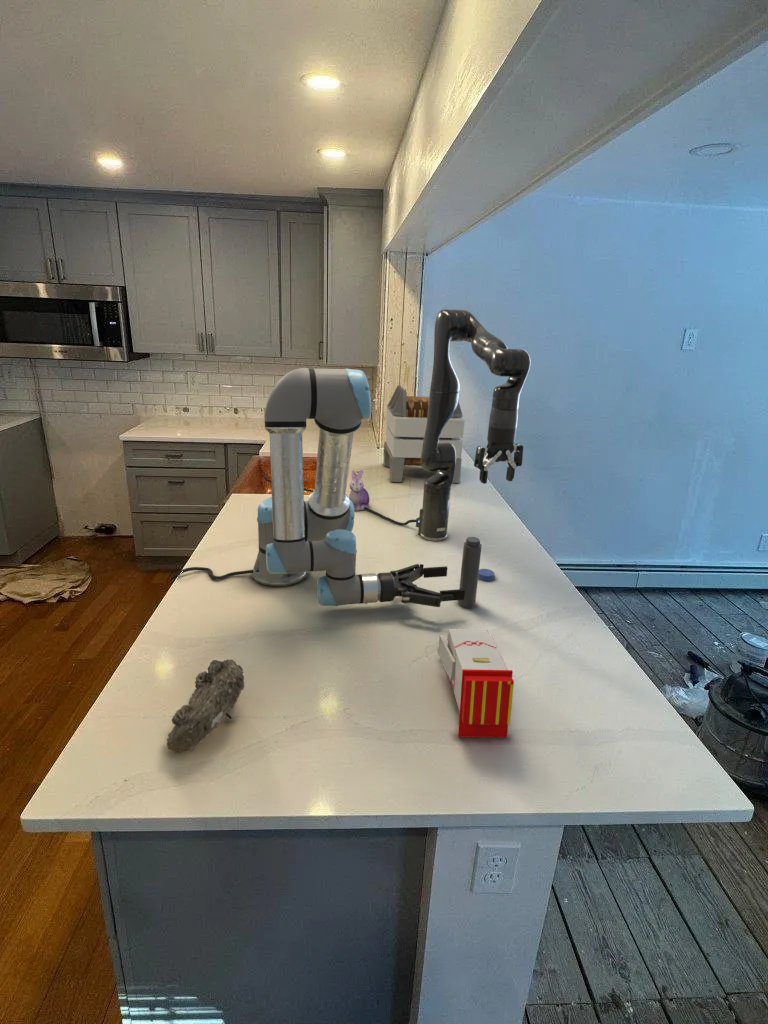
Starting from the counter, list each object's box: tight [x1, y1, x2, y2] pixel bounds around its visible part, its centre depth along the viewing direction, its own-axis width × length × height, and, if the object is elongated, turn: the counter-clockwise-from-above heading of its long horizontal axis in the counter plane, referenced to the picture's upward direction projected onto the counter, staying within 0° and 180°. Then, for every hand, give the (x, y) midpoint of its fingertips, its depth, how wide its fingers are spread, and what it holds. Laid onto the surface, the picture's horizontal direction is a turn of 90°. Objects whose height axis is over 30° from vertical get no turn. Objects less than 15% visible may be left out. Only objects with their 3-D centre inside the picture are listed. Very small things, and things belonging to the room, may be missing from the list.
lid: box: [478, 568, 495, 582], centre depth 170 cm, size 5×5×2 cm
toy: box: [437, 628, 515, 738], centre depth 117 cm, size 12×13×30 cm
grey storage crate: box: [383, 384, 465, 484], centre depth 268 cm, size 34×33×41 cm
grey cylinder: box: [457, 536, 482, 609], centre depth 151 cm, size 5×5×19 cm
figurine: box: [348, 469, 370, 512], centre depth 222 cm, size 9×10×15 cm
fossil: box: [166, 658, 245, 754], centre depth 106 cm, size 22×10×15 cm
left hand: (455, 582), depth 152 cm, fingers open, 13 cm apart
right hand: (496, 481), depth 160 cm, fingers open, 8 cm apart
